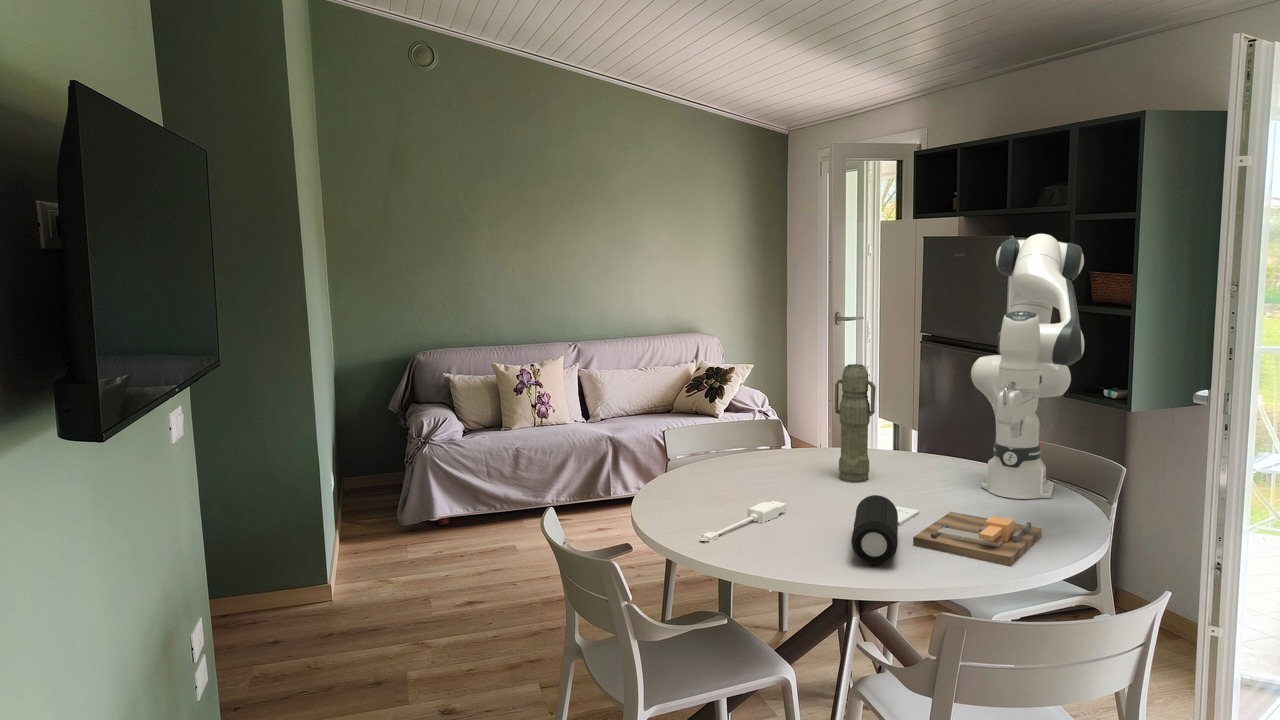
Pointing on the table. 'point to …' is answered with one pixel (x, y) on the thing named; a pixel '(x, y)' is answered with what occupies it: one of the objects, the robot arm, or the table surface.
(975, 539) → the grey flat bar
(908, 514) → the external hard drive
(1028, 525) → the base
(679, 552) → the table surface
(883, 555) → the portable speaker
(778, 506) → the charging cable
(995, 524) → the bolt
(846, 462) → the thermos
